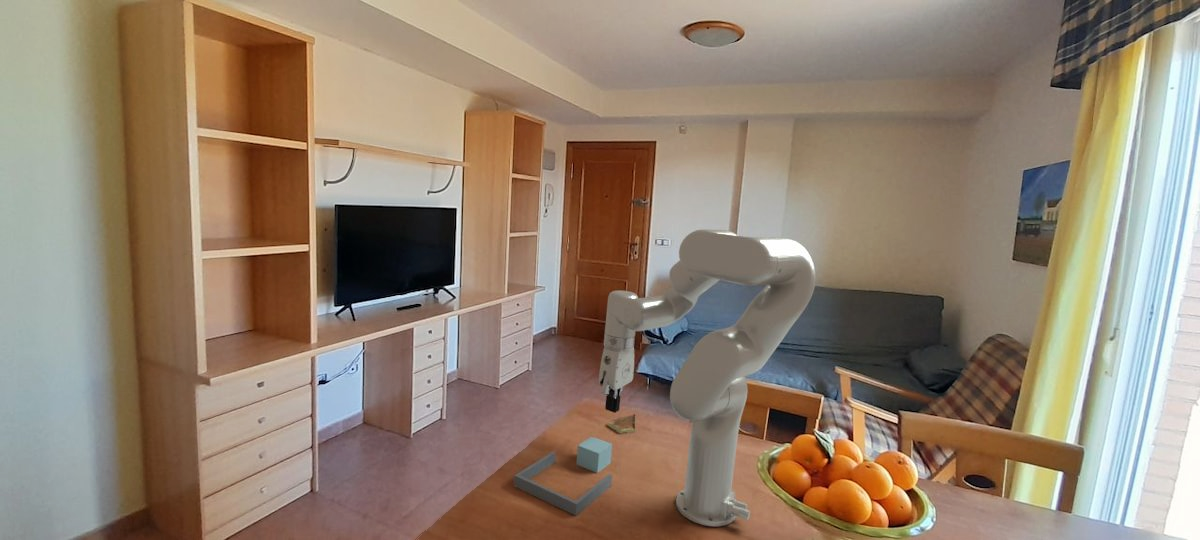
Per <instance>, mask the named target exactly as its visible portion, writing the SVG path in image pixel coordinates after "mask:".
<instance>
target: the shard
mask: <svg viewBox="0 0 1200 540" xmlns="http://www.w3.org/2000/svg"><path fill="white" fill-rule="evenodd" d="M608 426H609V427H608ZM606 427H608V428H610V427H611V428H610V429H612V430H614V431H615V432H617V433H618V434H624V433H625V432H627V433H632V432H633V433H636V414H635V413H634V414H631V415H628V416H627V415H626V416H623V417H619V418H615V419H613V420H609V421H608V422H607V426H606ZM625 434H626V433H625Z"/></svg>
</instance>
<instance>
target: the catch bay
mask: <svg viewBox="0 0 1200 540" xmlns="http://www.w3.org/2000/svg"><path fill="white" fill-rule="evenodd" d="M556 458H557V452H556V451H554V450H553V451H551V452H550V453H548V454H546V455H545V456H543V457H541V458H540V459H539V460H537V461H535V462H533V463H532V464H530V465H529V466H527V467H526V468H524V469H522V470H521V471H519V472H517V473H516V474H514V477H513V487H515V488H517V489H519V490H522V491H523V492H526V493H527V494H530V495H532V496H534V497H536V498H537V499H539V500H540V499H541V500H542V501H545V502H546V503H548V504H550V505H553V506H555V507H557V508H559V509H561V510H562V511H565V512H568V513H569V514H571V515H574V516H577V515H579V514H580V513H581V512H582V511H583V510H584V509H586V508H587V507H588V506H589V505H590V504H592V502H594V501H595V500H596V499H597V498H599V496H601V495H602V494H603V493H605V492H606V491H607V490H608V489H609V488H610V487H611V486H612V479H613V475H612V474H610V473H609V474H607V475H606V476H605V477H604V478H602V479H601V480H600V481H598V483H595V485H593V486H592V487H591V488H590V489H589V490H587V491H586V492H585V493H583V494H582V495H581V496H580V497H578V498H577V499H576V500H574V499H573V498H570V497H569V496H566V495H564V494H562V493H560V492H557V491H555V490H553V489H550V488H549V487H546V486H545V485H543V484H540V483H538V482H536V481H533V480H531V478H534V477H535V476H537V474H539V473H541V472H542V471H544V470H545V469H547V468H548V467H551V466H552V465H553V464H555V463H556Z"/></svg>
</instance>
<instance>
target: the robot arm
mask: <svg viewBox="0 0 1200 540" xmlns="http://www.w3.org/2000/svg"><path fill="white" fill-rule="evenodd" d="M678 249H679V251H678V257H679V261H677V262H676V263H675V264H673V266H672V267H671V268H670V270H669V274H668V275H669V281H670V284H671V286H672V287H670V288H669V289H668V290H667V291H665V292H664V293H663V294H661V295H657V296H646V297H639V296H638V295H637V293H635V292H633V291H627V290H622V289H621V290H612V291H611V292H609V294H608V296H607V307H606V316H605V317H606V318H605V326H604V335H603V336H604V337H603V338H604V339H603V346H604V347H603V349H602V355H601V360H600V361H601V362H600V367H599V374H598V384H599V386H601V391H600V392H601V394H604V395H605V397H606V398H605V407H604V408H605V410H607V411H609V412H611V413H613V414H615V413H617V412H619V411H620V406H621V396H622V394H623V389H624V387H625V386H626V385H629V383H631V382H632V381H633V379H634V372H635V371H634V370H635V339H636V338H635V337H636V332H643V331H648V330H653V329H659V328H664V327H668V326H670V325H673V324H674V323H676V322H678V321H679V320H680V319H681V318H683V317H684V316H685V315H687V314H688V313H689V312H691V310H693V308H694V307H695V305H696V304H697V302H698V300H699V297H700V296H701V295H702V294H703V293H705V292H706V291H707V290H709V289H710V288H711V287H712V286H714V285H715V284H717V283H718V282H719V281H723V282H727V283H732V284H736V285H742V286H753V287H754V286H763V285H764V288H763V289H762V290H761V291H760V292H759V293H758V294H757V295H756V296H754V298H753V299H752V300H751V301H750V303H749V304H748V306H747V307H746V309H745V311H744V312H743V313H742V315H741V316H740V318H739V319H738V320H737V321H736V322H735V324H733V325H731V326H729V327H725V328H720V329H716V330H713V331H710V332H709V333H707V334H705V335H704V336H703V337H702V338H700V339H699V340H698V342H697V343H696V344H694V345H695V346H694V347H693V349H692V350H691V352H690V353H689V354H688V356H687V358H686V359H685V361H684V362H683V364H682V365H681V367H680V368H679V370H678V372H677V373H676V375H675V376H674V379H672V383H671V385H670V390H669V391H670V392H669V399H670V405H671V407H672V409H673V412H675V414H676V415H678V416H679V417H680V418H681V419H683V420H685V421H688V422H691V428H690V435H689V447H688V452H687V453H688V455H687V465H686V472H685V473H686V474H685V475H686V476H685V484H684V488H683V489H682V490H680V491H679V492H678V493H677V495H676V499H675V506H676V508H677V510H678V511H679V512H680V514H681V515H682V516H683V517H684V518H686V519H688V520H690V521H692V523H696V524H699V525H702V526H708V527H722V526H726V525H727V526H728V525H729V524H732V523H733V522H734V521H735V519H736V518H737V517H738V518H740V519H742V520H745V521H748V522H749V519H750V515H751V510H749V509H748V503H745V502H743V501H739V500H737V498H735V496H736V491H735V490H734V489H732V488H733V487H732V486H733V478H734V471H735V462H736V456H737V454H736V453H737V445H738V438H739V437H738V436H739V430H740V424H741V420H742V417H743V413H744V410H745V405H746V402H747V398H748V384H747V379H746V377H747V376H750V375H752V374H755V373H757V372H758V371H760V370H761V369H762V368H764V366H765V365H766V363H767V362H768V360H769V359H770V358H771V356H772V355H773V354H774V352H775V351H776V349H777V348H778V347H779V345H780V344H781V342H782V341H783V340H784V339H785V337H786V336H787V334H788V333H789V331H790V330H791V328H792V327H793V325H794V324H795V322H797V320H798V319H799V318H800V316H801V315H802V314H803V312H804V311H805V310H806V308H807V306H808V305H809V302H810V301H811V299H812V296H813V294H814V291H815V287H816V276H817V275H816V273H817V272H816V267H815V264H814V260H813V258H812V256H811V254H810V253H809V251H808V250H807V249H806V248H805V247H804V245H802V244H801V243H799V242H798V241H796V240H794V239H790V238H787V237H774V236H773V237H772V236H771V237H761V236H759V237H758V236H757V237H752V236H743V235H742V236H741V235H738V234H736V233H735V232H733V231H730V230H726V229H697V230H694V231H692V232H690V233H688V234H687V235H686V236H685V237H684V239H683V240H682V242H681V243H680V246H679V248H678Z"/></svg>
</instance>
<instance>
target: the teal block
mask: <svg viewBox="0 0 1200 540" xmlns="http://www.w3.org/2000/svg"><path fill="white" fill-rule="evenodd" d="M612 451H613V443H610V442H608V441H605V440H603V439H600V438H597V437H594V436H590V437H589V438H587V439H585V440H584V441H582V442H581V443H580V444H577V451H576V452H577V453H576V466H580V467H582V468H584V469H587V470H589V471H592V472H594V473H596V474H598V473H599V472H601V471H603V469H605V468H606V467H607V466H609V465H610V464H611V463H612Z"/></svg>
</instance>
